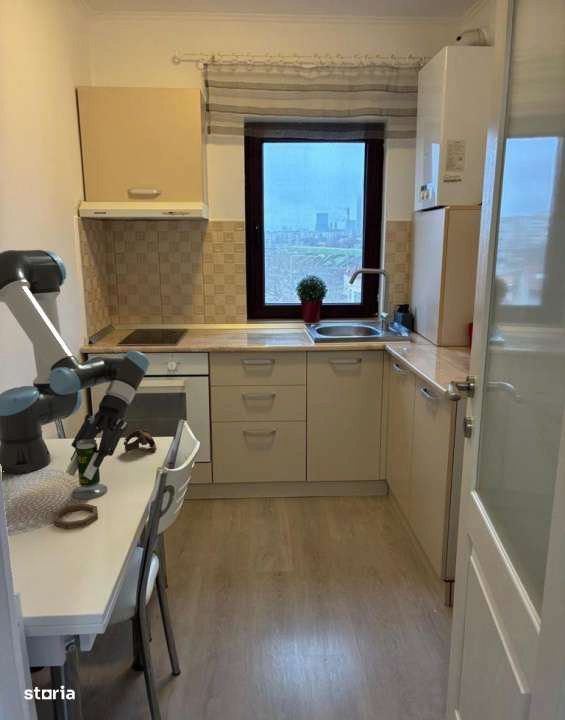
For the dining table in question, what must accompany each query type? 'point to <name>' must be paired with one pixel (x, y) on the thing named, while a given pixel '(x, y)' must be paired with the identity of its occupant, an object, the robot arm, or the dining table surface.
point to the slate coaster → (89, 492)
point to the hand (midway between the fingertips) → (78, 475)
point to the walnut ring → (77, 523)
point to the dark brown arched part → (139, 440)
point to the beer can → (86, 462)
